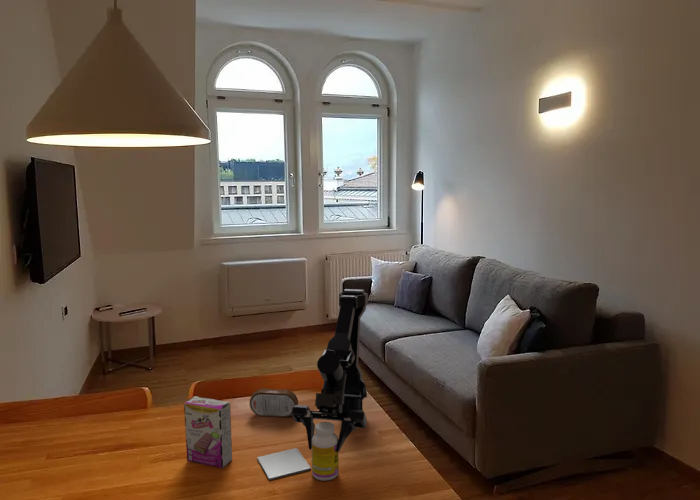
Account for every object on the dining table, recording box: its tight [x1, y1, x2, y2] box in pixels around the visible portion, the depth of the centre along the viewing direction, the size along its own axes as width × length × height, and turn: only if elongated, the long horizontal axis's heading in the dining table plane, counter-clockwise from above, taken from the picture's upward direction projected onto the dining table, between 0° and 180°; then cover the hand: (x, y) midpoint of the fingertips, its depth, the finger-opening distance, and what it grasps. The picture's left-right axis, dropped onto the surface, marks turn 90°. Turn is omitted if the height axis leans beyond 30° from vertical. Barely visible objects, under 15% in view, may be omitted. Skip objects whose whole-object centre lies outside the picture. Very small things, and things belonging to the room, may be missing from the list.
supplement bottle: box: [311, 421, 340, 482], centre depth 131 cm, size 7×7×13 cm
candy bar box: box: [183, 395, 233, 469], centre depth 138 cm, size 11×5×16 cm, turn 71°
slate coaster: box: [256, 447, 312, 481], centre depth 137 cm, size 11×11×1 cm
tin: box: [249, 388, 299, 418], centre depth 164 cm, size 15×3×8 cm, turn 84°
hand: (323, 450), depth 130 cm, fingers closed on supplement bottle, 7 cm apart
